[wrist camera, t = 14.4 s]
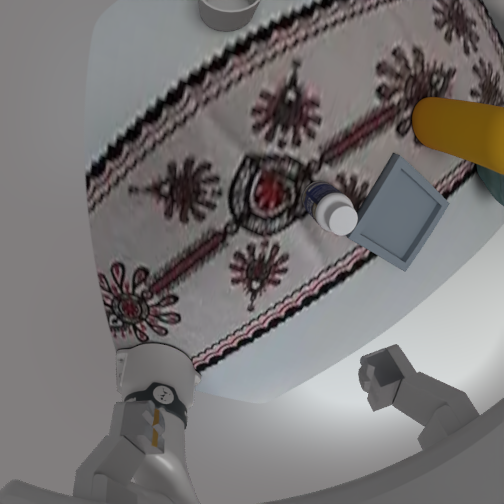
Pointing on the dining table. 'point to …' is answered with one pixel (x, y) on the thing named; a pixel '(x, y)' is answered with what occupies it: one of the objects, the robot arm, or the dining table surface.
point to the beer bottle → (462, 130)
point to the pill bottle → (330, 208)
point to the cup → (227, 13)
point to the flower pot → (493, 182)
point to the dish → (398, 214)
